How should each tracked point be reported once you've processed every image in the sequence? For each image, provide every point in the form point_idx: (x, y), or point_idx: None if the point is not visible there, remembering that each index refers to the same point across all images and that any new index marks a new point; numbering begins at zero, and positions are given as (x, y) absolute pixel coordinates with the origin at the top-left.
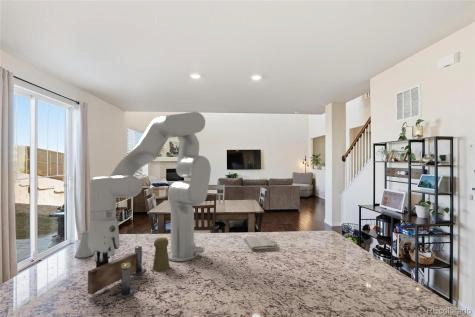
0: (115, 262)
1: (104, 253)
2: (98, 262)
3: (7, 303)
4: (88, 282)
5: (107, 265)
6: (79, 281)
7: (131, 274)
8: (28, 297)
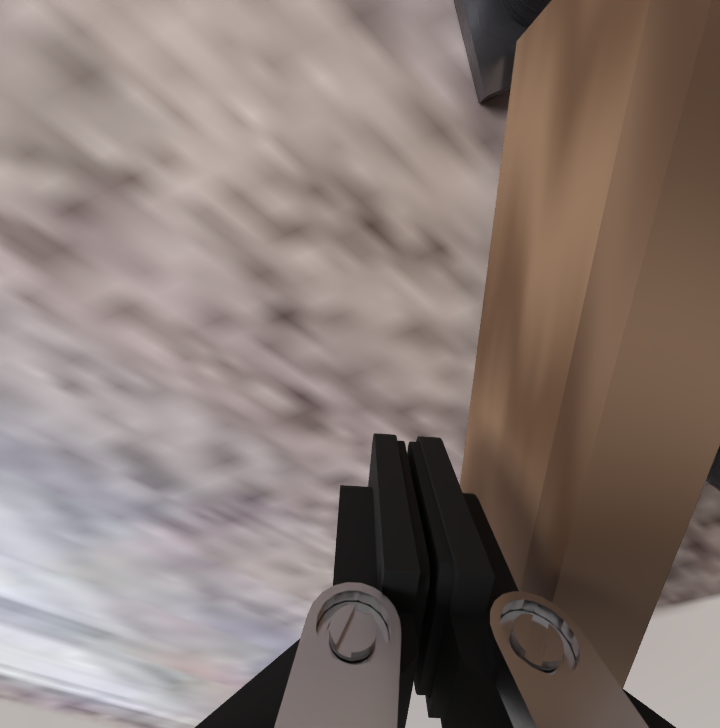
0: (681, 536)
1: (392, 714)
2: (436, 698)
3: (85, 711)
4: None
5: (630, 658)
6: (131, 432)
7: (496, 95)
8: (100, 658)
